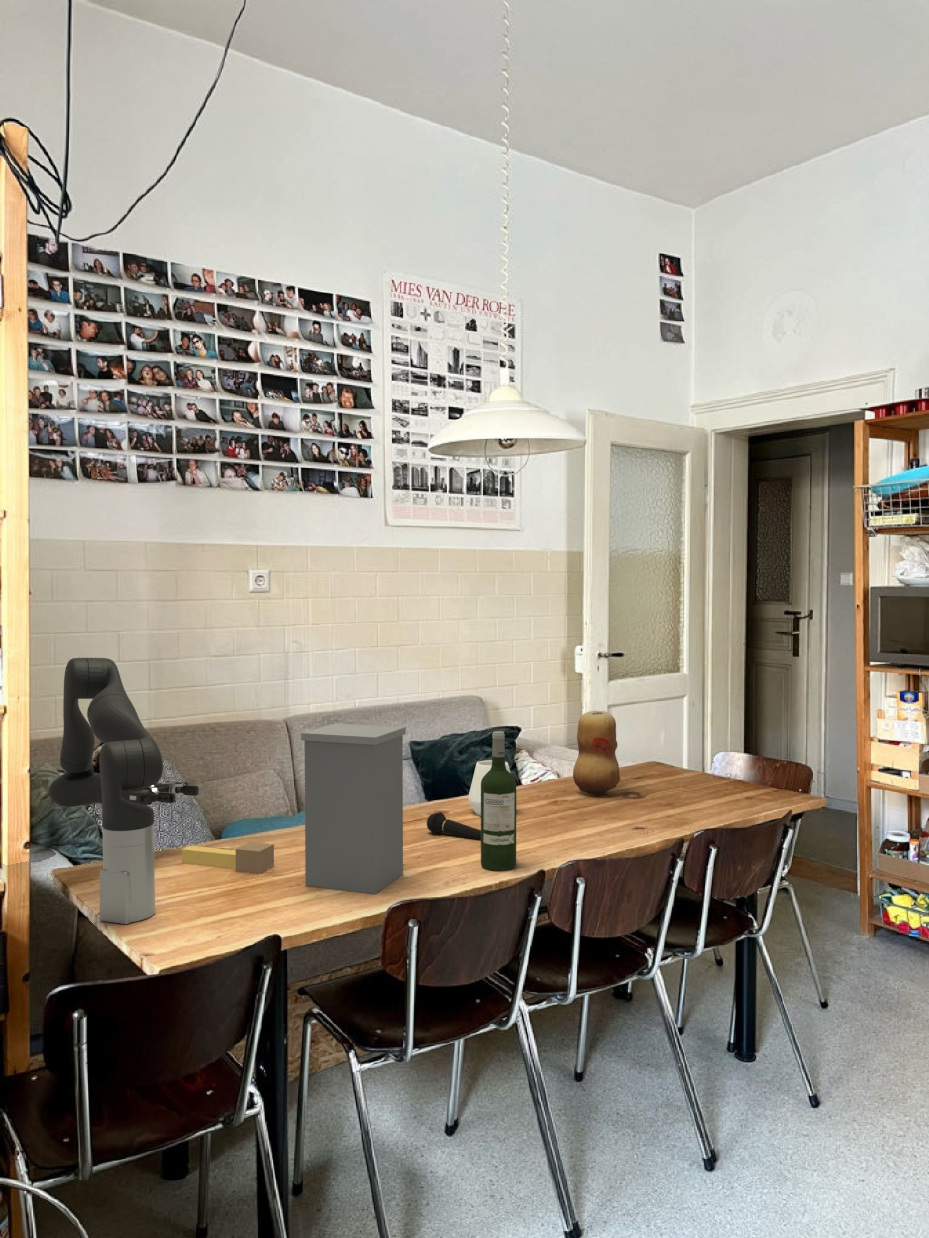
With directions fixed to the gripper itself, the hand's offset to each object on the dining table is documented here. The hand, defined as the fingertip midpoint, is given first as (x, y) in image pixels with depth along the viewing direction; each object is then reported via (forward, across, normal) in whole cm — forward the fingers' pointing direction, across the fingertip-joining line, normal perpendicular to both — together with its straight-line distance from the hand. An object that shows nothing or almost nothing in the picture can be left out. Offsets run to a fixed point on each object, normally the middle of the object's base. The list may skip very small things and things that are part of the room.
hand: (186, 794), depth 215 cm
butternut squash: (+73, +100, +15) cm, 125 cm away
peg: (+10, 0, +15) cm, 19 cm away
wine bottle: (+68, +20, +16) cm, 72 cm away
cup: (+51, +67, +15) cm, 86 cm away
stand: (+42, 0, +16) cm, 45 cm away
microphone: (+51, +40, +16) cm, 67 cm away
